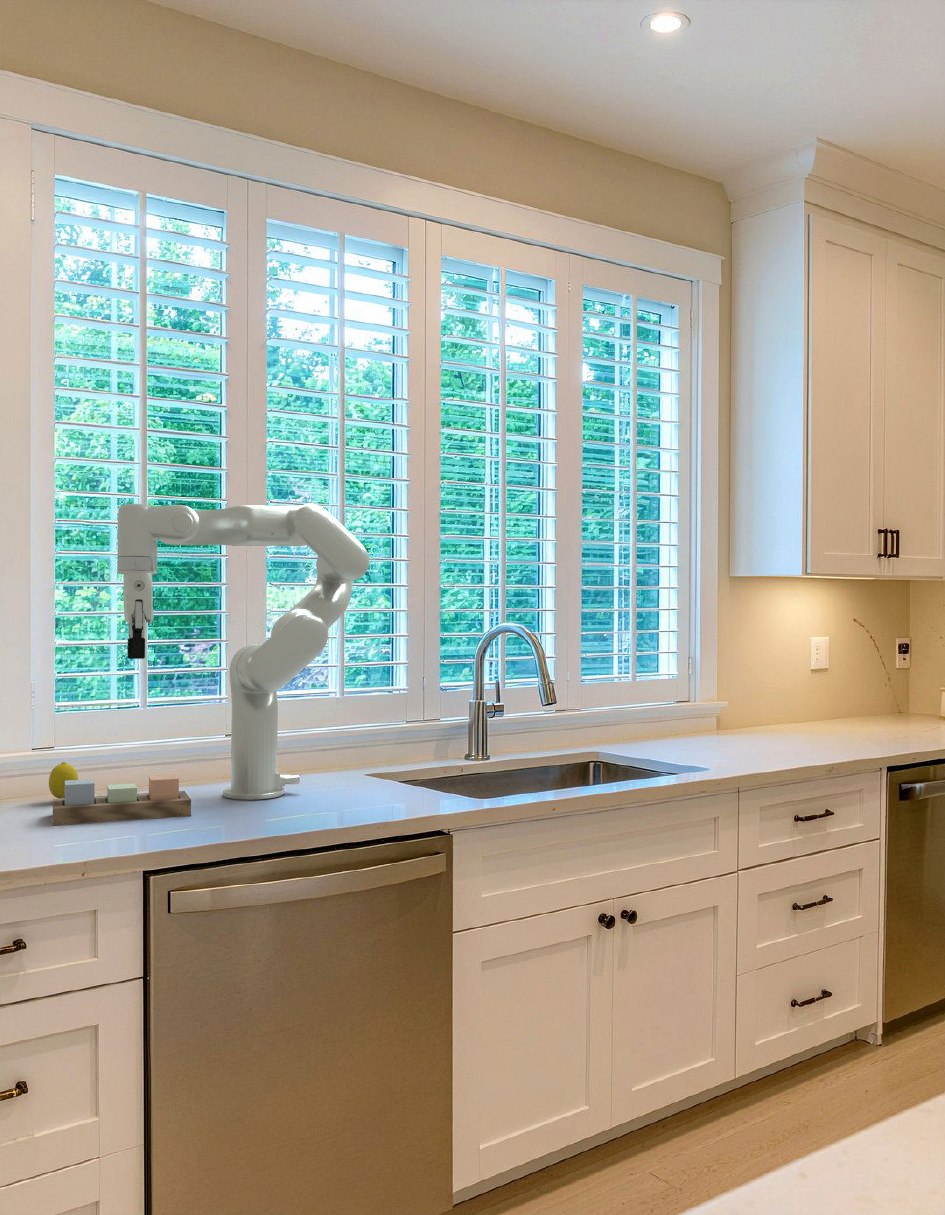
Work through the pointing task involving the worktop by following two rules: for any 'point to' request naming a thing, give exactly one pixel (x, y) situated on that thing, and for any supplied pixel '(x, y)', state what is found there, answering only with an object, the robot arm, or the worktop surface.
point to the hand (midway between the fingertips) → (136, 658)
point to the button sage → (121, 793)
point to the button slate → (79, 792)
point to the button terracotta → (163, 787)
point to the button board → (120, 809)
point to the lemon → (61, 779)
